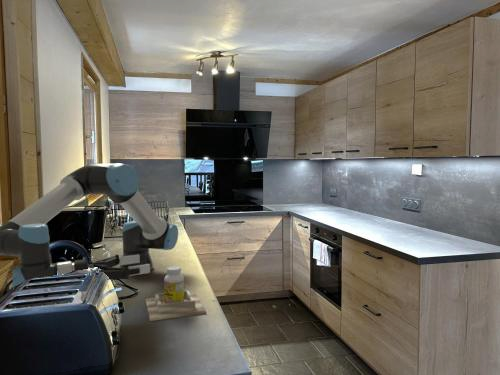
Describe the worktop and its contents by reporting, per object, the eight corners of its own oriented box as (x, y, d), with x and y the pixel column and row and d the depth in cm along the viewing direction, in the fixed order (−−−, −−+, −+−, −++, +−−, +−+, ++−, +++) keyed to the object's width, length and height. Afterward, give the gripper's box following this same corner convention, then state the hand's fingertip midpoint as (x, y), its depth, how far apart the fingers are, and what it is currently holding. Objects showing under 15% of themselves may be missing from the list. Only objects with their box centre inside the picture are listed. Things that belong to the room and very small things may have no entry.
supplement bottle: (160, 304, 131) (160, 267, 130) (177, 299, 136) (176, 264, 135) (171, 309, 126) (171, 271, 125) (188, 304, 131) (187, 267, 130)
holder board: (145, 301, 137) (145, 292, 136) (195, 295, 143) (195, 286, 142) (149, 320, 120) (149, 310, 120) (205, 313, 126) (205, 303, 125)
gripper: (70, 274, 126) (135, 265, 136) (78, 298, 104) (154, 285, 114) (69, 252, 125) (135, 244, 135) (76, 271, 103) (154, 260, 114)
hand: (144, 263), depth 125 cm, fingers open, 13 cm apart
